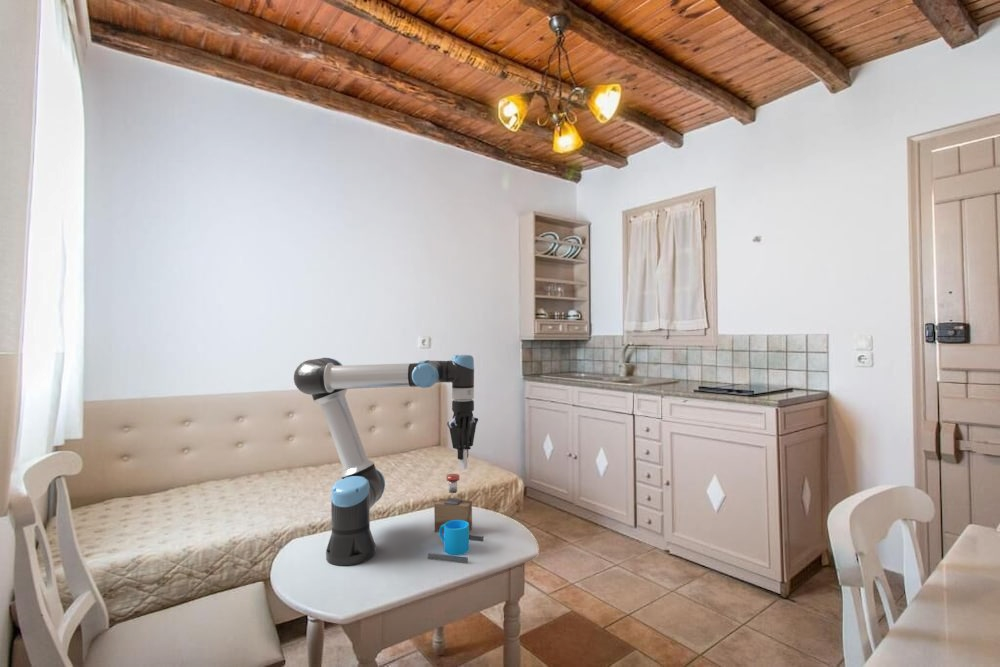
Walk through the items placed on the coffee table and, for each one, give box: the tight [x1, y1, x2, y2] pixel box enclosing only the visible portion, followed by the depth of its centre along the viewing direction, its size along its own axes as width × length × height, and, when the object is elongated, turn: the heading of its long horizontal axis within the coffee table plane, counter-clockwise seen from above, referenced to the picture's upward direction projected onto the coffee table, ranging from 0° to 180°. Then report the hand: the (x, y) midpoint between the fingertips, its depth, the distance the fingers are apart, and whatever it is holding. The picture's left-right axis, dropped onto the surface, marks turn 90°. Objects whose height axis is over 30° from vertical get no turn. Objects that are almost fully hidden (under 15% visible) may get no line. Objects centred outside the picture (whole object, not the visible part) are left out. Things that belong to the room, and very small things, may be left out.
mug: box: [438, 520, 470, 556], centre depth 159 cm, size 12×8×8 cm
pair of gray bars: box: [427, 534, 485, 564], centre depth 158 cm, size 13×17×2 cm
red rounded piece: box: [446, 473, 460, 494], centre depth 173 cm, size 5×5×6 cm
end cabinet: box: [433, 497, 473, 534], centre depth 173 cm, size 6×12×11 cm, turn 75°
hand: (463, 468), depth 167 cm, fingers closed
